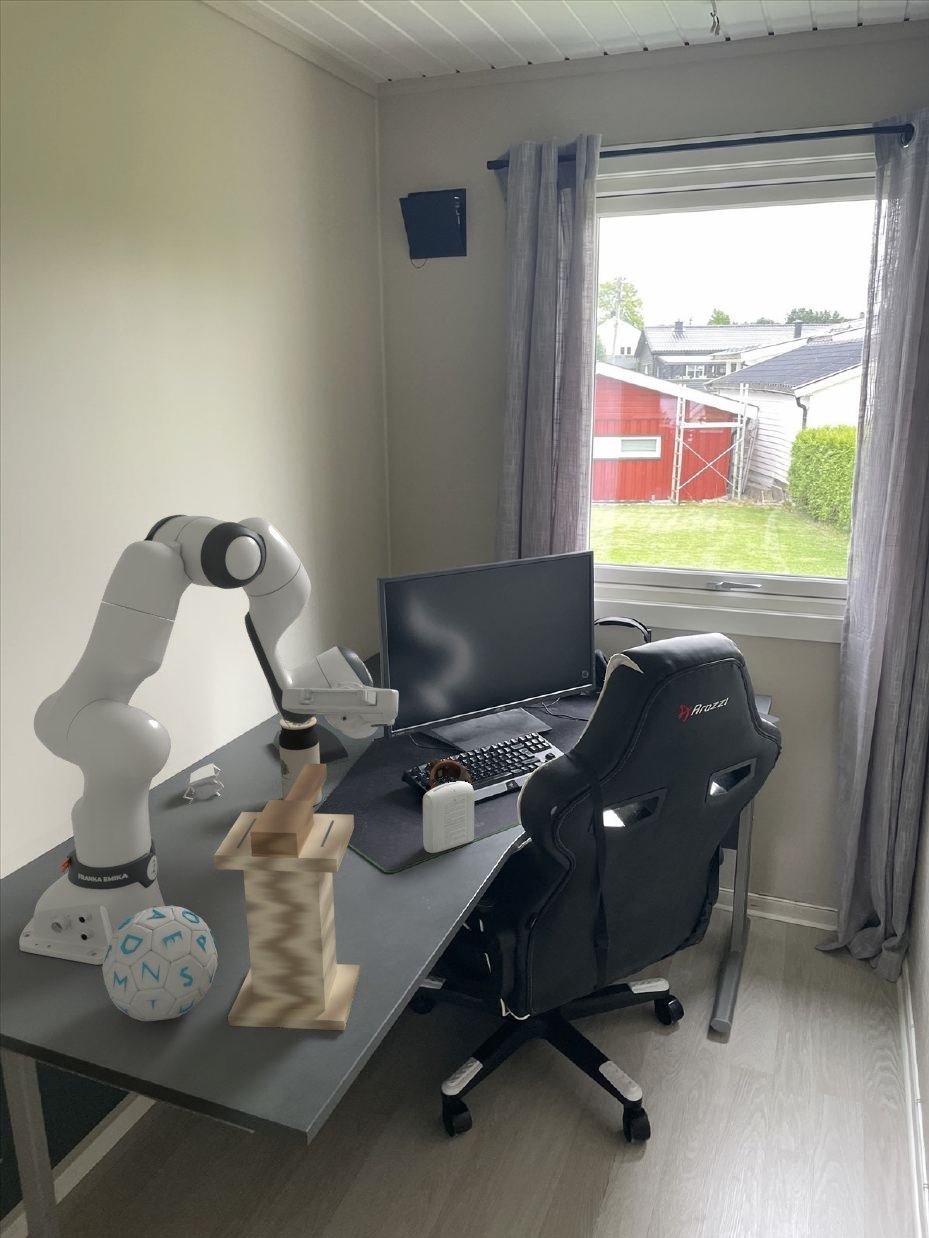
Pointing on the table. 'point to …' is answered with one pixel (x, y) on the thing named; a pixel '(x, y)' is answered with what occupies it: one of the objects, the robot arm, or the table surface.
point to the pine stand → (292, 929)
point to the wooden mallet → (289, 817)
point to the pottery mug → (447, 771)
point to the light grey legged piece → (203, 778)
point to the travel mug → (297, 751)
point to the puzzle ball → (160, 963)
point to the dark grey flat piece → (325, 746)
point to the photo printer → (448, 816)
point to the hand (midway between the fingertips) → (333, 693)
